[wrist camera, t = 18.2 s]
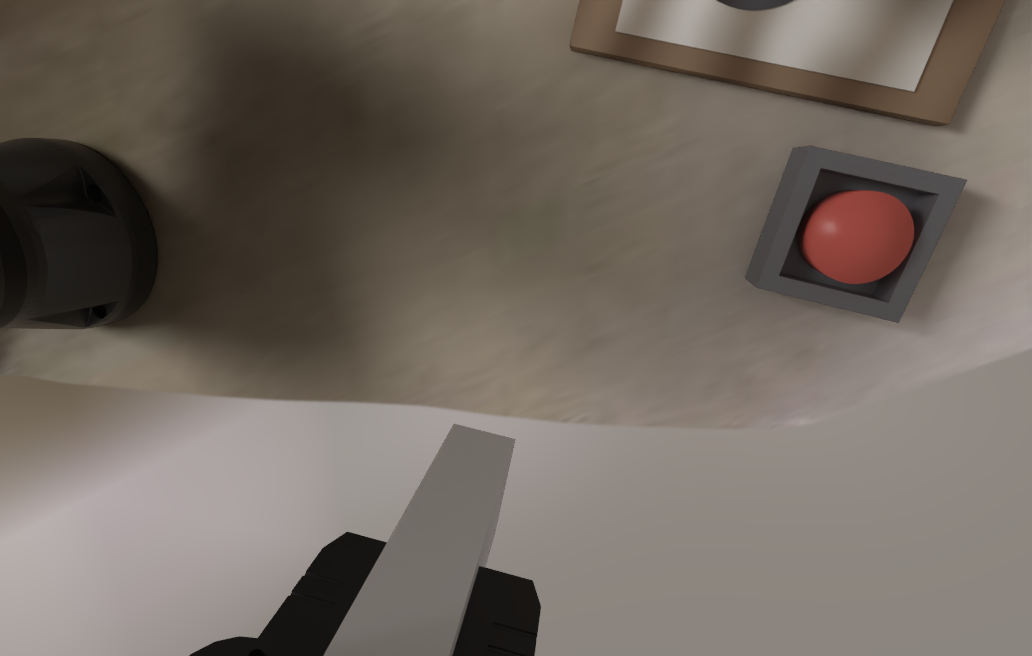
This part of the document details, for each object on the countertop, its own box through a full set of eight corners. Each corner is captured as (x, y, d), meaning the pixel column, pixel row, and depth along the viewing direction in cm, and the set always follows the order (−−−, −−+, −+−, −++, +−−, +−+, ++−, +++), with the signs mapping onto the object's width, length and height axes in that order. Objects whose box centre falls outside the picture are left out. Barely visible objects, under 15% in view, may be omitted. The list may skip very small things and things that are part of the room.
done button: (784, 264, 33) (797, 271, 31) (817, 180, 31) (833, 181, 29) (870, 285, 32) (889, 293, 30) (908, 201, 31) (931, 203, 28)
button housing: (745, 278, 35) (756, 287, 32) (793, 148, 32) (809, 145, 29) (875, 310, 34) (898, 322, 31) (935, 179, 31) (967, 179, 28)
